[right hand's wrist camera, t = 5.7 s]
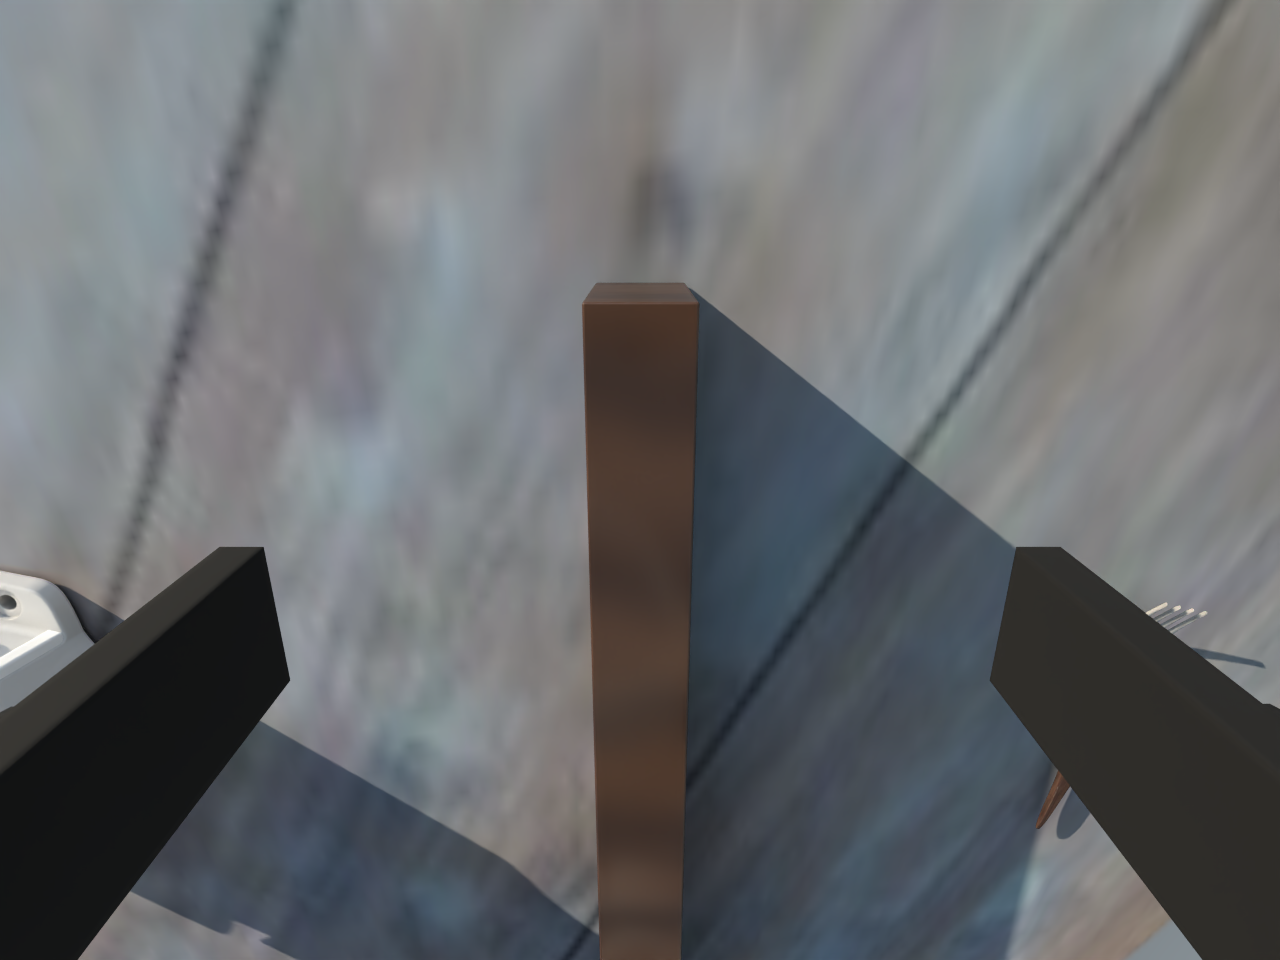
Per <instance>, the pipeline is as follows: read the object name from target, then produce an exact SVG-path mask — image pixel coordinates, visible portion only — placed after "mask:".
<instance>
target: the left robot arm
mask: <svg viewBox="0 0 1280 960" xmlns="http://www.w3.org/2000/svg"><path fill="white" fill-rule="evenodd" d="M12 597H13V598H14V599H15V600H14V599H13V598H12ZM94 644H95V643H94V642H93V641H92V640H91V639H90V638H89V637H88V635H87V634H86V633H85V632H84V630H83V628H82V625H81V623H80V621H79V619H78V617H77V615H76V613H75V611H74V609H73V607H72V605H71V604H70V602H69V600H68V599H67V597H66V596H65V594H64V593H63V592H62V591H61V590H60V589H59V588H58V587H57V586H56V585H55V584H53V583H51V582H49V581H47V580H44V579H41V578H36V577H31V576H26V575H21V574H15V573H10V572H5V571H0V712H1V711H3V710H5V709H7V708H9V707H11V706H15V705H17V704H18V703H19V702H20V701H22V700H23V699H24V698H26V697H27V696H28V695H29V694H31V693H32V692H33V691H35V690H36V689H37V688H38V687H40V686H41V685H42V684H44V683H45V682H46V681H48V680H49V679H50V678H51V677H53V676H54V675H55V674H57V673H58V672H59V671H60V670H62V669H63V668H64V667H66V666H67V665H68V664H69V663H71V662H72V661H73V660H75V659H76V658H77V657H78V656H80V655H81V654H82V653H84V652H85V651H86V650H87V649H89V648H90V647H91V646H93V645H94Z"/></svg>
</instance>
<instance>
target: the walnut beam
mask: <svg viewBox="0 0 1280 960" xmlns="http://www.w3.org/2000/svg"><path fill="white" fill-rule="evenodd" d="M582 317H583V354H584V391H585V427H586V464H587V501H588V537H589V574H590V610H591V647H592V684H593V720H594V757H595V794H596V830H597V867H598V903H599V940H600V960H681V945H682V909H683V873H684V838H685V802H686V766H687V730H688V694H689V659H690V623H691V587H692V551H693V515H694V480H695V444H696V408H697V372H698V337H699V302H698V301H697V300H696V298H695V297H694V296H693V294H692V293H691V291H690V290H689V289H688V287H687V286H686V284H685V283H596V284H595V286H594V287H593V289H592V290H591V292H590V293H589V294H588V296H587V297H586V299H585V300H584V302H583V304H582Z"/></svg>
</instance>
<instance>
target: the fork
mask: <svg viewBox="0 0 1280 960" xmlns="http://www.w3.org/2000/svg"><path fill="white" fill-rule="evenodd" d="M1167 606H1168V603H1164V604H1161V605H1159V606H1158V607H1156V608H1154V609H1152V610H1150V611H1148V612H1146V614H1147V615H1149V616H1151V615H1152V614H1154V613H1155V612H1157V611H1159V610H1161V609H1162V608H1164V607H1167ZM1179 609H1181V606H1177V607H1174V608H1172V609H1170V610H1168V611H1166V612H1164V613H1163V614H1161V615H1159V616H1157V617H1155V618H1153V619H1154V620H1155V621H1156V622H1158V621H1160V620H1162V619H1163V618H1165V617H1166V616H1168V615H1170V614H1172V613H1173V612H1175V611H1177V610H1179ZM1192 612H1194V609H1193V608H1192V609H1189V610H1187V611H1185V612H1183V613H1181V614H1179V615H1177V616H1175V617H1173V618H1171V619H1169V620H1168V621H1166V622H1164V623H1162V624H1160V625H1162V626H1163V627H1164V628H1166V627H1167V626H1169V625H1171V624H1172V623H1174V622H1176V621H1177V620H1179V619H1181V618H1183V617H1184V616H1186V615H1188V614H1190V613H1192ZM1205 615H1207V612H1206V611H1204V612H1202V613H1200V614H1198V615H1196V616H1193V617H1191V618H1190V619H1188V620H1186V621H1184V622H1182V623H1180V624H1178V625H1176V626H1174V627H1173V628H1171V629H1169V630H1168V631H1169V632H1171V633H1172V634H1173V633H1175V632H1176V631H1178V630H1180V629H1181V628H1183V627H1185V626H1186V625H1188V624H1190V623H1192V622H1193V621H1195V620H1197V619H1199V618H1201V617H1203V616H1205ZM1069 787H1070V785H1069V784H1068V782H1067V781H1066V780H1065V778H1064V777H1063V776H1062V775H1061V773H1060V772H1059V771H1058V772H1057V775H1056V778H1055V780H1054V783H1053V785H1052V787H1051V790H1050V792H1049V794H1048V796H1047V798H1046V801H1045V803H1044V805H1043V807H1042V810H1041V812H1040V815H1039V817H1038V820H1037V823H1036V828H1037V829H1039V828H1041V827H1042V825H1043V824H1044V823H1045V822H1046V821H1047V819H1048V818H1049V817H1050V815H1051V814H1052V812H1053V811H1054V809H1055V808H1056V806H1057V805H1058V803H1059V802H1060V800H1061V799H1062V797H1063V796H1064V794H1065V793H1066V791H1067V790H1068V788H1069Z"/></svg>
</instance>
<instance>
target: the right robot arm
mask: <svg viewBox="0 0 1280 960" xmlns="http://www.w3.org/2000/svg"><path fill="white" fill-rule="evenodd" d="M289 681H290V677H289V672H288V667H287V662H286V657H285V652H284V647H283V642H282V637H281V632H280V627H279V622H278V617H277V612H276V607H275V602H274V597H273V592H272V587H271V582H270V577H269V572H268V567H267V562H266V557H265V552H264V547H219V548H218V549H216V550H215V551H214V552H213V553H211V554H210V555H209V556H207V557H206V558H205V559H204V560H202V561H201V562H200V563H198V564H197V565H196V566H194V567H193V568H192V569H191V570H189V571H188V572H187V573H185V574H184V575H183V576H182V577H180V578H179V579H178V580H176V581H175V582H174V583H173V584H171V585H170V586H169V587H167V588H166V589H165V590H164V591H162V592H161V593H160V594H158V595H157V596H156V597H155V598H153V599H152V600H151V601H149V602H148V603H147V604H145V605H144V606H143V607H142V608H140V609H139V610H138V611H136V612H135V613H134V614H133V615H131V616H130V617H129V618H127V619H126V620H125V621H124V622H122V623H121V624H120V625H118V626H117V627H116V628H115V629H113V630H112V631H111V632H109V633H108V634H107V635H106V636H104V637H103V638H102V639H100V640H99V641H98V642H96V643H95V644H94V645H93V646H91V647H90V648H89V649H87V650H86V651H85V652H84V653H82V654H81V655H80V656H78V657H77V658H76V659H75V660H73V661H72V662H71V663H69V664H68V665H67V666H66V667H64V668H63V669H62V670H60V671H59V672H58V673H57V674H55V675H54V676H53V677H51V678H50V679H49V680H48V681H46V682H45V683H44V684H42V685H41V686H40V687H38V688H37V689H36V690H35V691H33V692H32V693H31V694H29V695H28V696H27V697H26V698H24V699H23V700H22V701H20V702H19V703H18V704H17V705H15V706H11V707H9V708H7V709H5V710H3V711H1V712H0V960H78V958H79V957H80V956H81V954H82V953H83V952H84V950H85V949H86V948H87V947H88V945H89V944H90V943H91V941H92V940H93V939H94V937H95V936H96V935H97V933H98V932H99V931H100V929H101V928H102V927H103V926H104V924H105V923H106V922H107V920H108V919H109V918H110V916H111V915H112V914H113V912H114V911H115V910H116V908H117V907H118V906H119V905H120V903H121V902H122V901H123V899H124V898H125V897H126V895H127V894H128V893H129V891H130V890H131V889H132V887H133V886H134V885H135V884H136V882H137V881H138V880H139V878H140V877H141V876H142V874H143V873H144V872H145V870H146V869H147V868H148V866H149V865H150V864H151V862H152V861H153V860H154V859H155V857H156V856H157V855H158V853H159V852H160V851H161V849H162V848H163V847H164V845H165V844H166V843H167V841H168V840H169V839H170V838H171V836H172V835H173V834H174V832H175V831H176V830H177V828H178V827H179V826H180V824H181V823H182V822H183V820H184V819H185V818H186V817H187V815H188V814H189V813H190V811H191V810H192V809H193V807H194V806H195V805H196V803H197V802H198V801H199V799H200V798H201V797H202V796H203V794H204V793H205V792H206V790H207V789H208V788H209V786H210V785H211V784H212V782H213V781H214V780H215V778H216V777H217V776H218V775H219V773H220V772H221V771H222V769H223V768H224V767H225V765H226V764H227V763H228V761H229V760H230V759H231V757H232V756H233V755H234V753H235V752H236V751H237V750H238V748H239V747H240V746H241V744H242V743H243V742H244V740H245V739H246V738H247V736H248V735H249V734H250V732H251V731H252V730H253V729H254V727H255V726H256V725H257V723H258V722H259V721H260V719H261V718H262V717H263V715H264V714H265V713H266V711H267V710H268V709H269V708H270V706H271V705H272V704H273V702H274V701H275V700H276V698H277V697H278V696H279V694H280V693H281V692H282V690H283V689H284V688H285V687H286V685H287V684H288V683H289ZM990 681H991V683H992V684H993V685H994V687H995V688H996V689H997V690H998V692H999V693H1000V694H1001V696H1002V697H1003V698H1004V700H1005V701H1006V702H1007V704H1008V705H1009V706H1010V708H1011V709H1012V710H1013V711H1014V713H1015V714H1016V715H1017V717H1018V718H1019V719H1020V721H1021V722H1022V723H1023V725H1024V726H1025V727H1026V729H1027V730H1028V731H1029V732H1030V734H1031V735H1032V736H1033V738H1034V739H1035V740H1036V742H1037V743H1038V744H1039V746H1040V747H1041V748H1042V750H1043V751H1044V752H1045V753H1046V755H1047V756H1048V757H1049V759H1050V760H1051V761H1052V763H1053V764H1054V765H1055V767H1056V768H1057V769H1058V771H1059V772H1060V773H1061V775H1062V776H1063V777H1064V778H1065V780H1066V781H1067V782H1068V784H1069V785H1070V786H1071V788H1072V789H1073V790H1074V792H1075V793H1076V794H1077V796H1078V797H1079V798H1080V799H1081V801H1082V802H1083V803H1084V805H1085V806H1086V807H1087V809H1088V810H1089V811H1090V813H1091V814H1092V815H1093V817H1094V818H1095V819H1096V820H1097V822H1098V823H1099V824H1100V826H1101V827H1102V828H1103V830H1104V831H1105V832H1106V834H1107V835H1108V836H1109V838H1110V839H1111V840H1112V841H1113V843H1114V844H1115V845H1116V847H1117V848H1118V849H1119V851H1120V852H1121V853H1122V855H1123V856H1124V857H1125V859H1126V860H1127V861H1128V862H1129V864H1130V865H1131V866H1132V868H1133V869H1134V870H1135V872H1136V873H1137V874H1138V876H1139V877H1140V878H1141V880H1142V881H1143V882H1144V884H1145V885H1146V886H1147V887H1148V889H1149V890H1150V891H1151V893H1152V894H1153V895H1154V897H1155V898H1156V899H1157V901H1158V902H1159V903H1160V905H1161V906H1162V907H1163V908H1164V910H1165V911H1166V912H1167V914H1168V915H1169V916H1170V918H1171V919H1172V920H1173V922H1174V923H1175V924H1176V926H1177V927H1178V928H1179V929H1180V931H1181V932H1182V933H1183V935H1184V936H1185V937H1186V939H1187V940H1188V941H1189V943H1190V944H1191V945H1192V947H1193V948H1194V949H1195V950H1196V952H1197V953H1198V954H1199V956H1200V957H1201V958H1202V960H1280V709H1279V708H1277V707H1275V706H1273V705H1271V704H1262V703H1261V702H1260V701H1258V700H1257V699H1256V698H1254V697H1253V696H1252V695H1251V694H1249V693H1248V692H1247V691H1245V690H1244V689H1243V688H1242V687H1240V686H1239V685H1238V684H1236V683H1235V682H1234V681H1232V680H1231V679H1230V678H1229V677H1227V676H1226V675H1225V674H1223V673H1222V672H1221V671H1220V670H1218V669H1217V668H1216V667H1214V666H1213V665H1212V664H1211V663H1209V662H1208V661H1207V660H1205V659H1204V658H1203V657H1202V656H1200V655H1199V654H1198V653H1196V652H1195V651H1194V650H1193V649H1191V648H1190V647H1189V646H1187V645H1186V644H1185V643H1184V642H1182V641H1181V640H1180V639H1178V638H1177V637H1176V636H1174V635H1173V634H1172V633H1171V632H1169V631H1168V630H1167V629H1165V628H1164V627H1163V626H1162V625H1160V624H1159V623H1158V622H1156V621H1155V620H1154V619H1153V618H1151V617H1150V616H1149V615H1147V614H1146V613H1145V612H1144V611H1142V610H1141V609H1140V608H1138V607H1137V606H1136V605H1135V604H1133V603H1132V602H1131V601H1129V600H1128V599H1127V598H1125V597H1124V596H1123V595H1122V594H1120V593H1119V592H1118V591H1116V590H1115V589H1114V588H1113V587H1111V586H1110V585H1109V584H1107V583H1106V582H1105V581H1104V580H1102V579H1101V578H1100V577H1098V576H1097V575H1096V574H1095V573H1093V572H1092V571H1091V570H1089V569H1088V568H1087V567H1086V566H1084V565H1083V564H1082V563H1080V562H1079V561H1078V560H1076V559H1075V558H1074V557H1073V556H1071V555H1070V554H1069V553H1067V552H1066V551H1065V550H1064V549H1062V548H1061V547H1016V552H1015V557H1014V562H1013V567H1012V572H1011V577H1010V582H1009V587H1008V592H1007V597H1006V602H1005V607H1004V612H1003V617H1002V622H1001V627H1000V632H999V637H998V642H997V647H996V652H995V657H994V662H993V667H992V672H991V677H990Z"/></svg>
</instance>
